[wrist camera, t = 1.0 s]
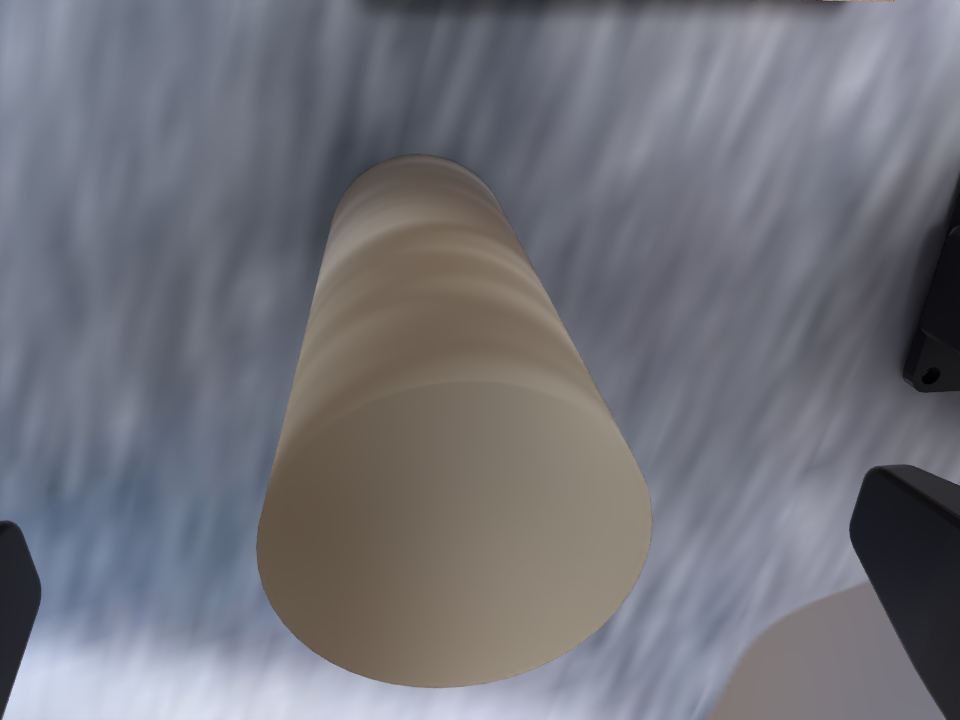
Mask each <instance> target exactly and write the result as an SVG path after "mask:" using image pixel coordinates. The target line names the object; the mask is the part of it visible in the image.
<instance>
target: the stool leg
mask: <svg viewBox="0 0 960 720" xmlns="http://www.w3.org/2000/svg"><path fill="white" fill-rule="evenodd" d="M651 532H652V510H651V500H650V496H649V492H648V489H647V485H646V481H645V479H644V477H643V475H642V473H641V470H640V468H639V466H638V464H637V462H636V460H635V458H634V456H633V454H632V452H631V451H630V449H629V447H628V445H627V443H626V441H625V439H624V437H623V435H622V434H621V432H620V430H619V428H618V426H617V424H616V422H615V420H614V419H613V417H612V415H611V413H610V411H609V409H608V407H607V405H606V404H605V402H604V400H603V398H602V396H601V394H600V392H599V390H598V388H597V387H596V385H595V383H594V381H593V379H592V377H591V375H590V373H589V372H588V370H587V368H586V366H585V364H584V362H583V360H582V358H581V357H580V355H579V353H578V351H577V349H576V347H575V345H574V343H573V342H572V340H571V338H570V336H569V334H568V332H567V330H566V328H565V326H564V325H563V323H562V321H561V319H560V317H559V315H558V313H557V311H556V310H555V308H554V306H553V304H552V302H551V300H550V298H549V296H548V295H547V293H546V291H545V289H544V287H543V285H542V283H541V281H540V279H539V278H538V276H537V274H536V272H535V270H534V268H533V266H532V264H531V263H530V261H529V259H528V257H527V255H526V253H525V251H524V249H523V248H522V246H521V244H520V242H519V240H518V238H517V236H516V234H515V232H514V231H513V229H512V227H511V225H510V223H509V221H508V219H507V217H506V216H505V214H504V212H503V210H502V208H501V206H500V204H499V202H498V201H497V199H496V197H495V196H494V194H493V193H492V191H491V190H490V189H489V187H488V186H487V185H486V184H485V183H484V182H483V181H482V180H481V179H480V178H479V177H478V176H477V175H476V174H474V173H473V172H472V171H470V170H469V169H467V168H466V167H464V166H462V165H460V164H458V163H456V162H454V161H451V160H448V159H445V158H442V157H437V156H432V155H419V154H416V155H405V156H400V157H395V158H392V159H389V160H386V161H383V162H381V163H379V164H377V165H375V166H373V167H371V168H370V169H368V170H367V171H366V172H364V173H363V174H361V175H360V176H359V177H358V178H357V179H356V180H355V181H354V182H353V183H352V184H351V185H350V186H349V188H348V189H347V190H346V191H345V193H344V194H343V196H342V198H341V199H340V201H339V203H338V205H337V208H336V210H335V212H334V216H333V219H332V223H331V227H330V231H329V236H328V240H327V244H326V248H325V252H324V256H323V260H322V265H321V269H320V273H319V277H318V281H317V285H316V289H315V294H314V298H313V302H312V306H311V310H310V314H309V318H308V323H307V327H306V331H305V335H304V339H303V343H302V347H301V352H300V356H299V360H298V364H297V368H296V372H295V376H294V381H293V385H292V389H291V393H290V397H289V401H288V405H287V410H286V414H285V418H284V422H283V426H282V430H281V434H280V439H279V443H278V447H277V451H276V455H275V459H274V463H273V468H272V472H271V476H270V480H269V484H268V488H267V492H266V497H265V501H264V505H263V509H262V513H261V517H260V521H259V526H258V534H257V546H256V550H257V562H258V570H259V574H260V577H261V581H262V585H263V588H264V591H265V593H266V595H267V597H268V599H269V601H270V604H271V606H272V607H273V609H274V610H275V612H276V613H277V615H278V616H279V618H280V619H281V621H282V622H283V623H284V625H285V626H286V627H287V628H288V629H289V630H290V631H291V632H292V633H293V634H294V635H295V637H296V638H297V639H299V640H300V641H301V642H302V643H304V644H305V645H306V646H307V647H308V648H310V649H311V650H312V651H313V652H315V653H316V654H318V655H320V656H321V657H323V658H324V659H326V660H328V661H329V662H331V663H333V664H335V665H337V666H339V667H341V668H343V669H346V670H348V671H350V672H352V673H355V674H358V675H361V676H364V677H367V678H370V679H373V680H378V681H382V682H386V683H390V684H396V685H403V686H411V687H425V688H449V687H464V686H471V685H478V684H485V683H489V682H493V681H498V680H502V679H506V678H509V677H512V676H516V675H519V674H522V673H525V672H528V671H530V670H532V669H535V668H537V667H539V666H542V665H544V664H546V663H549V662H550V661H552V660H554V659H556V658H558V657H560V656H562V655H563V654H565V653H567V652H569V651H570V650H572V649H573V648H575V647H576V646H577V645H579V644H580V643H582V642H583V641H585V640H586V639H587V638H589V637H590V636H591V635H592V634H593V633H595V632H596V631H597V630H598V629H599V628H601V627H602V626H603V625H604V624H605V623H606V622H607V621H608V620H609V618H610V617H611V616H612V615H613V614H614V613H615V612H616V611H617V610H618V609H619V607H620V606H621V605H622V603H623V602H624V601H625V599H626V598H627V597H628V595H629V594H630V592H631V590H632V588H633V587H634V585H635V583H636V581H637V580H638V578H639V576H640V573H641V571H642V568H643V566H644V563H645V561H646V558H647V554H648V550H649V546H650V541H651Z"/></svg>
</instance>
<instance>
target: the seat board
mask: <svg viewBox="0 0 960 720" xmlns="http://www.w3.org/2000/svg"><path fill="white" fill-rule="evenodd" d="M825 1H894V0H825Z"/></svg>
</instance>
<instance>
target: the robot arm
mask: <svg viewBox="0 0 960 720" xmlns="http://www.w3.org/2000/svg"><path fill="white" fill-rule="evenodd" d="M928 369H929V371H928V372H927V373H926V374H925V375H924V376H922V375H923V374H924V372H925V371H927V370H928ZM903 378H904V380H905V382H907V383H908V384H909V385H911V386H912V387H913V388H915V389H916V390H918V391H919V392H925V393H926V392H945V391H960V195H959V198H958V201H957V204H956V207H955V210H954V213H953V216H952V220H951V223H950V226H949V229H948V232H947V235H946V238H945V242H944V245H943V248H942V251H941V254H940V257H939V260H938V263H937V267H936V270H935V273H934V276H933V279H932V282H931V285H930V288H929V292H928V295H927V298H926V301H925V304H924V307H923V310H922V314H921V317H920V320H919V323H918V326H917V329H916V332H915V335H914V339H913V342H912V345H911V348H910V351H909V354H908V357H907V360H906V364H905V367H904V370H903ZM849 532H850V539H851V542H852V545H853V548H854V550H855V552H856V554H857V556H858V558H859V560H860V562H861V564H862V566H863V568H864V570H865V572H866V574H867V576H868V578H869V580H870V582H871V584H872V586H873V588H874V590H875V592H876V594H877V596H878V598H879V600H880V602H881V604H882V605H883V608H884V610H885V611H886V614H887V616H888V618H889V620H890V622H891V624H892V625H893V627H894V630H895V632H896V634H897V635H898V637H899V639H900V641H901V643H902V645H903V647H904V649H905V651H906V653H907V655H908V657H909V659H910V661H911V662H912V664H913V666H914V668H915V670H916V672H917V673H918V675H919V676H920V678H921V680H922V682H923V683H924V685H925V687H926V688H927V690H928V692H929V693H930V695H931V696H932V698H933V700H934V701H935V703H936V705H937V706H938V708H939V709H940V711H941V712H942V714H943V716H944V717H945V719H946V720H960V486H959V485H957V484H954V483H952V482H950V481H947V480H945V479H943V478H940V477H938V476H935V475H933V474H931V473H928V472H926V471H924V470H921V469H919V468H917V467H914V466H911V465H905V464H903V465H886V466H876V467H873V468H871V469H870V470H869V471H868V472H867V473H866V474H865V477H864V479H863V482H862V485H861V488H860V492H859V495H858V498H857V501H856V504H855V508H854V511H853V514H852V517H851V520H850V527H849ZM40 601H41V583H40V579H39V576H38V573H37V571H36V568H35V565H34V563H33V560H32V557H31V554H30V552H29V549H28V546H27V544H26V541H25V538H24V535H23V533H22V531H21V529H20V528H19V526H18V525H17V524H15V523H14V522H11V521H6V520H5V521H0V720H2V718H3V715H4V712H5V709H6V706H7V703H8V700H9V697H10V694H11V691H12V688H13V685H14V682H15V679H16V676H17V673H18V670H19V667H20V664H21V661H22V658H23V655H24V652H25V649H26V646H27V643H28V640H29V637H30V634H31V631H32V628H33V624H34V621H35V618H36V615H37V612H38V609H39V606H40Z"/></svg>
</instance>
